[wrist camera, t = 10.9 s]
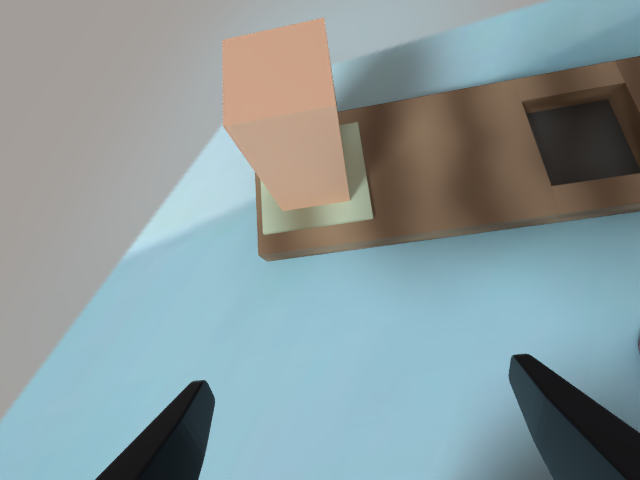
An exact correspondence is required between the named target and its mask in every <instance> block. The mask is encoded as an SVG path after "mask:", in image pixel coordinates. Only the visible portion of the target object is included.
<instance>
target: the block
mask: <svg viewBox="0 0 640 480" xmlns="http://www.w3.org/2000/svg"><path fill="white" fill-rule="evenodd" d="M223 127H224V128H225V130H226V131H227V132H228V134H229V135H230V137H231V138H232V140H233V141H234V142H235V144H236V145H237V147H238V148H239V150H240V151H241V152H242V154H243V155H244V157H245V158H246V160H247V161H248V162H249V164H250V165H251V167H252V168H253V170H254V171H255V172H256V174H257V175H258V177H259V178H260V180H261V181H262V182H263V184H264V185H265V187H266V188H267V190H268V191H269V192H270V194H271V195H272V197H273V198H274V200H275V201H276V202H277V204H278V205H279V207H280V208H281V210H282V211H287V210H294V209H300V208H307V207H313V206H320V205H327V204H333V203H340V202H346V201H350V197H349V189H348V182H347V175H346V168H345V161H344V153H343V146H342V139H341V132H340V125H339V118H338V111H337V104H336V97H335V90H334V84H333V77H332V70H331V63H330V56H329V49H328V42H327V35H326V29H325V21H324V18H321V19H316V20H311V21H307V22H302V23H298V24H293V25H289V26H284V27H280V28H275V29H271V30H266V31H261V32H257V33H252V34H248V35H244V36H238V37H234V38H229V39H225V40H223Z"/></svg>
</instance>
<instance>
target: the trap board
mask: <svg viewBox="0 0 640 480" xmlns="http://www.w3.org/2000/svg"><path fill="white" fill-rule="evenodd" d="M338 118H339V125H340V132H341V139H342V146H343V153H344V161H345V168H346V175H347V182H348V189H349V197H350V201H346V202H340V203H333V204H327V205H320V206H313V207H307V208H300V209H294V210H287V211H282V210H281V208H280V207H279V205H278V204H277V202H276V201H275V200H274V198H273V197H272V195H271V194H270V192H269V191H268V190H267V188H266V187H265V185H264V184H263V182H262V181H261V180H260V178H259V177H258V175H257V174H256V172H255V182H256V207H257V231H258V255H259V256H260V257H261V258H263V259H264V260H266V261H274V260H282V259H289V258H296V257H304V256H311V255H319V254H326V253H334V252H341V251H348V250H356V249H363V248H371V247H378V246H386V245H393V244H400V243H408V242H415V241H423V240H430V239H438V238H445V237H452V236H460V235H467V234H475V233H482V232H490V231H497V230H504V229H512V228H519V227H527V226H534V225H542V224H549V223H556V222H564V221H571V220H579V219H586V218H594V217H601V216H608V215H616V214H623V213H631V212H638V211H640V56H638V57H632V58H627V59H621V60H616V61H611V62H605V63H600V64H594V65H589V66H584V67H578V68H573V69H567V70H562V71H557V72H551V73H546V74H540V75H535V76H530V77H524V78H519V79H513V80H508V81H502V82H497V83H492V84H486V85H481V86H475V87H470V88H465V89H459V90H454V91H448V92H443V93H438V94H432V95H427V96H421V97H416V98H411V99H405V100H400V101H394V102H389V103H383V104H378V105H373V106H367V107H362V108H356V109H351V110H346V111H340V112H338Z"/></svg>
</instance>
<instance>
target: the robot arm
mask: <svg viewBox="0 0 640 480" xmlns="http://www.w3.org/2000/svg"><path fill="white" fill-rule="evenodd" d="M509 381H510V384H511V387H512V389H513V391H514V394H515V396H516V399H517V401H518V404H519V406H520V409H521V411H522V414H523V416H524V419H525V421H526V424H527V426H528V428H529V431H530V433H531V436H532V438H533V440H534V442H535V444H536V446H537V448H538V450H539V452H540V454H541V456H542V458H543V460H544V462H545V464H546V466H547V468H548V470H549V471H550V473H551V475H552V477H553V479H554V480H640V433H639V432H638V431H636V430H635V429H633V428H632V427H631V426H629V425H628V424H626V423H625V422H624V421H622V420H621V419H619V418H618V417H617V416H615V415H614V414H612V413H611V412H610V411H608V410H607V409H605V408H604V407H603V406H601V405H600V404H598V403H597V402H596V401H594V400H593V399H591V398H590V397H589V396H587V395H586V394H584V393H583V392H582V391H580V390H579V389H577V388H576V387H575V386H573V385H572V384H570V383H569V382H568V381H566V380H565V379H563V378H562V377H561V376H559V375H558V374H556V373H555V372H554V371H552V370H551V369H549V368H548V367H546V366H545V365H544V364H542V363H541V362H539V361H538V360H537V359H535V358H534V357H532V356H531V355H529V354H517V355H513V356H512V357H511V362H510V369H509ZM214 406H215V398H214V395H213V393H212V391H211V389H210V387H209V385H208V383H207V381H205V380H199V381H193V382H191V383H190V384H189V385H188V386H187V387H186V388H185V389H184V390H183V391H182V392H181V393H180V394H179V395H178V396H177V397H176V398H175V399H174V400H173V401H172V402H171V403H170V404H169V405H168V406H167V407H166V408H165V409H164V410H163V411H162V412H161V413H160V414H159V415H158V416H157V417H156V418H155V419H154V420H153V421H152V422H151V423H150V424H149V425H148V426H147V427H146V428H145V429H144V431H143V432H142V433H141V434H140V435H139V436H138V437H137V438H136V439H135V440H134V441H133V442H132V443H131V444H130V445H129V446H128V447H127V448H126V449H125V450H124V451H123V452H122V453H121V454H120V455H119V456H118V457H117V458H116V459H115V460H114V461H113V462H112V463H111V464H110V465H109V466H108V467H107V468H106V469H105V470H104V471H103V472H102V473H101V474H100V475H99V476H98V477H97V478H96V479H95V480H198V478H199V475H200V471H201V468H202V464H203V461H204V457H205V452H206V448H207V442H208V437H209V432H210V427H211V422H212V416H213V411H214Z"/></svg>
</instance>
